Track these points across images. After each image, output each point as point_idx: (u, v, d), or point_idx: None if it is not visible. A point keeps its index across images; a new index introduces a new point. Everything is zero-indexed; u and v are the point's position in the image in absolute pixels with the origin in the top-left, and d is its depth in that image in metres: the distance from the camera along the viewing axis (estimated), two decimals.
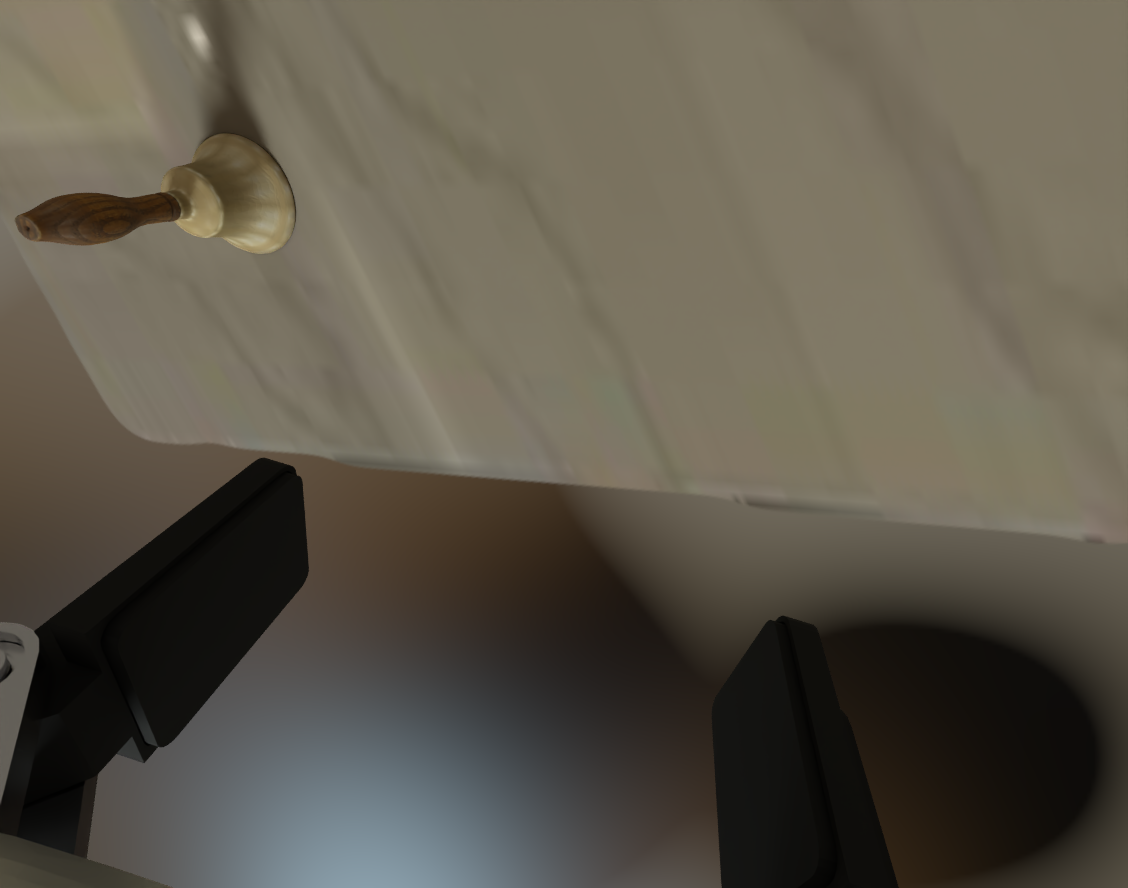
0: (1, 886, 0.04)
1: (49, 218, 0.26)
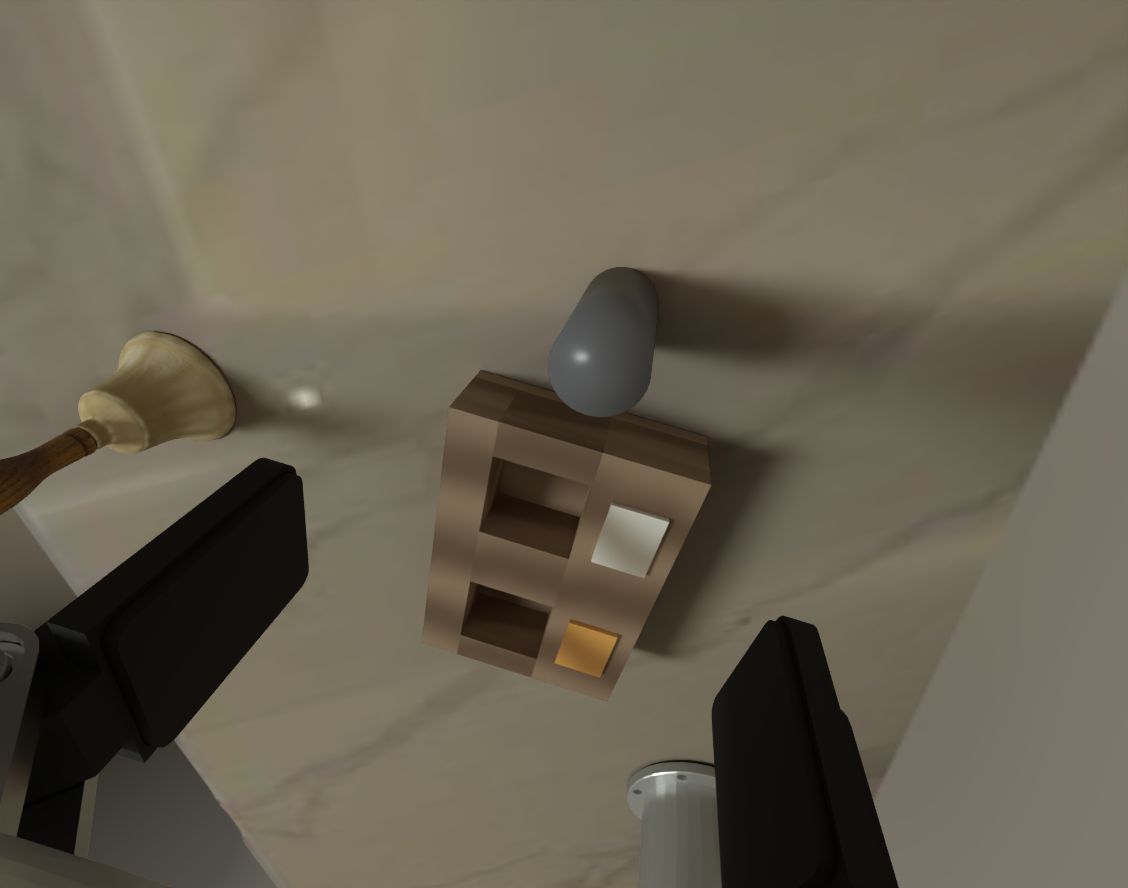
0: (1, 887, 0.04)
1: None
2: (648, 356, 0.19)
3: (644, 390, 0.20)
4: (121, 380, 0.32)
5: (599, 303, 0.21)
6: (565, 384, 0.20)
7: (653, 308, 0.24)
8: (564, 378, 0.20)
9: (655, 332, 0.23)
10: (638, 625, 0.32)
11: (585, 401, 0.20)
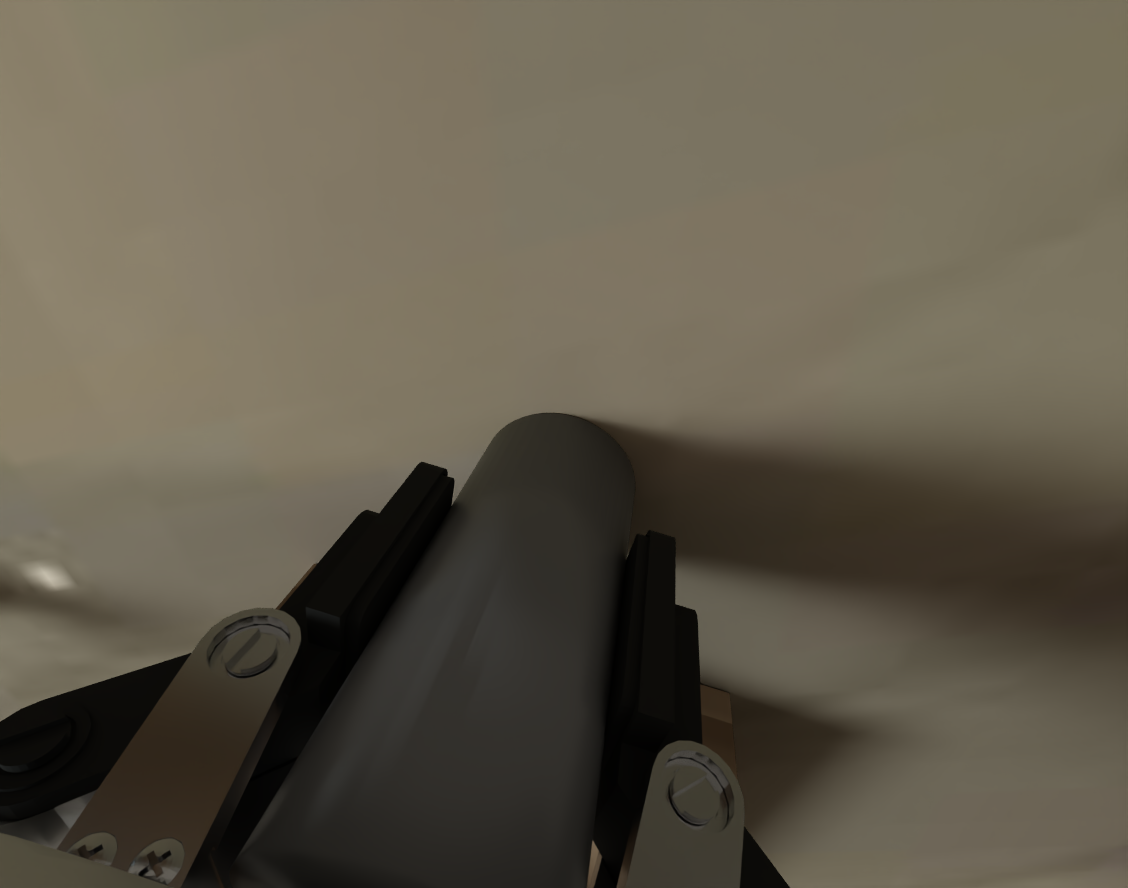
0: (1, 886, 0.04)
1: None
2: None
3: None
4: None
5: (427, 654, 0.07)
6: None
7: (614, 551, 0.10)
8: None
9: (616, 634, 0.09)
10: None
11: None
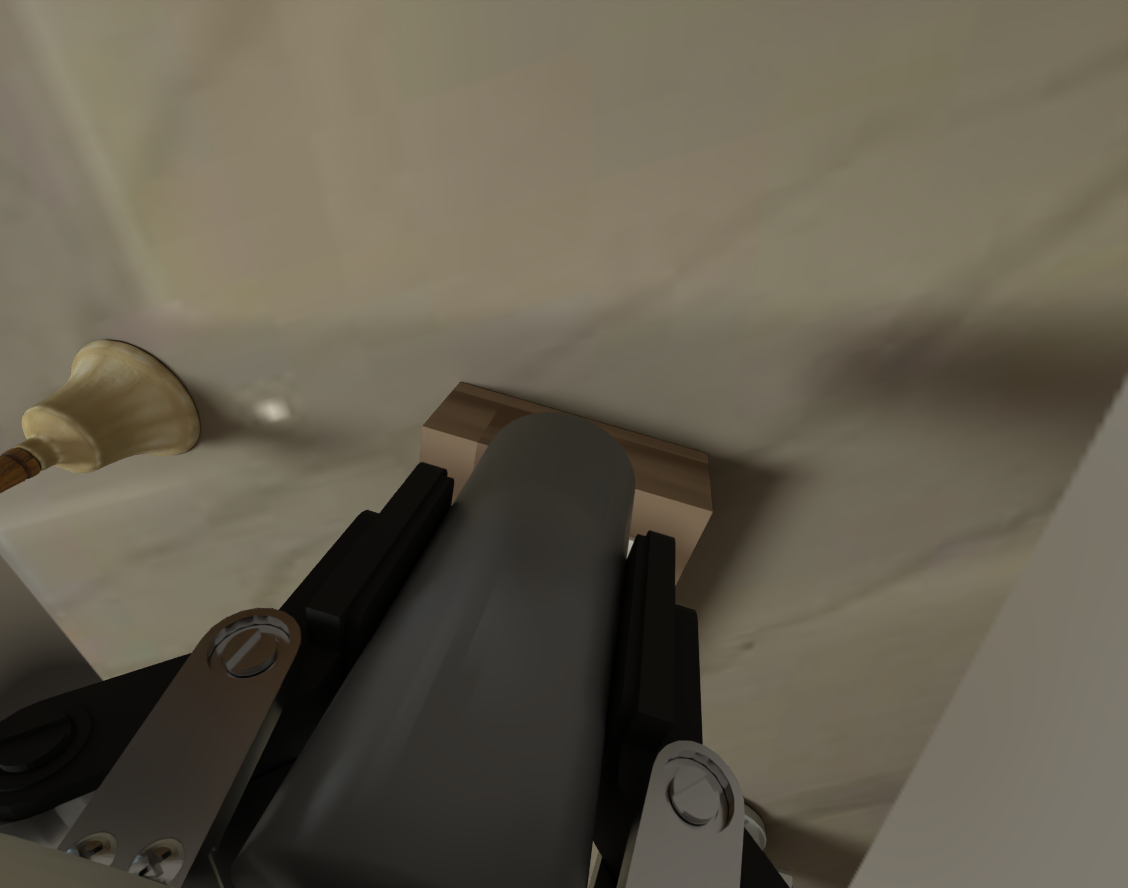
0: (1, 886, 0.04)
1: None
2: None
3: None
4: (69, 394, 0.29)
5: (427, 652, 0.07)
6: None
7: (615, 550, 0.10)
8: None
9: (616, 633, 0.09)
10: None
11: None
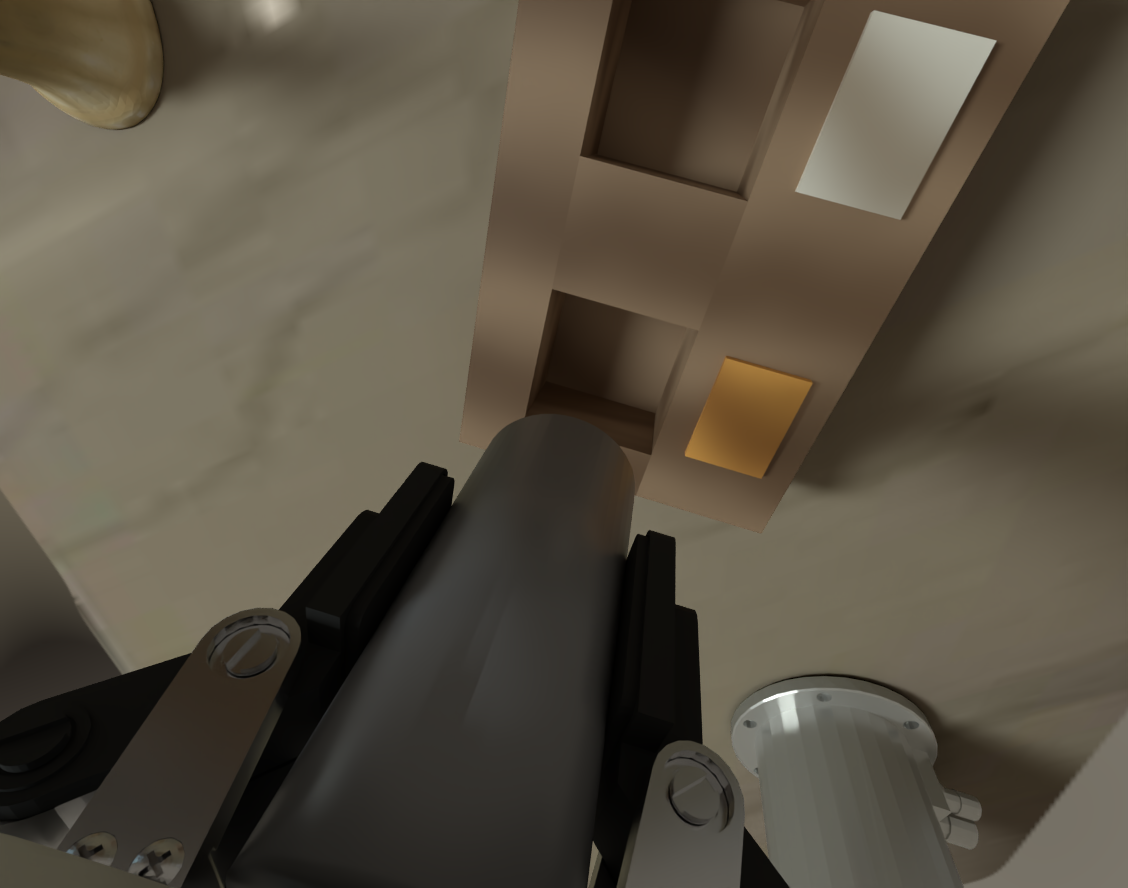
0: (1, 886, 0.04)
1: None
2: None
3: None
4: None
5: (425, 657, 0.07)
6: None
7: (614, 553, 0.10)
8: None
9: (616, 636, 0.09)
10: (855, 353, 0.18)
11: None
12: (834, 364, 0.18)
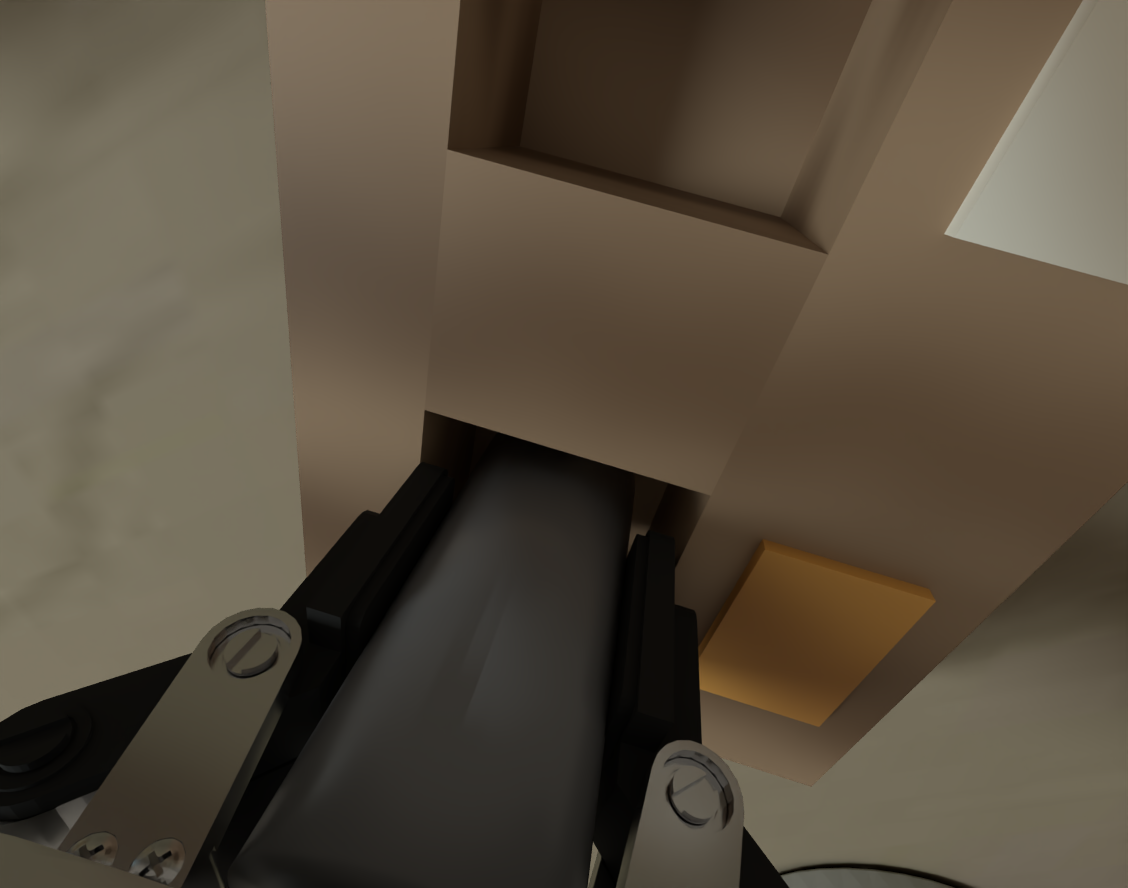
0: (1, 886, 0.04)
1: None
2: None
3: None
4: None
5: (426, 655, 0.07)
6: None
7: (614, 551, 0.10)
8: None
9: (616, 635, 0.09)
10: (1030, 554, 0.09)
11: None
12: (981, 568, 0.09)
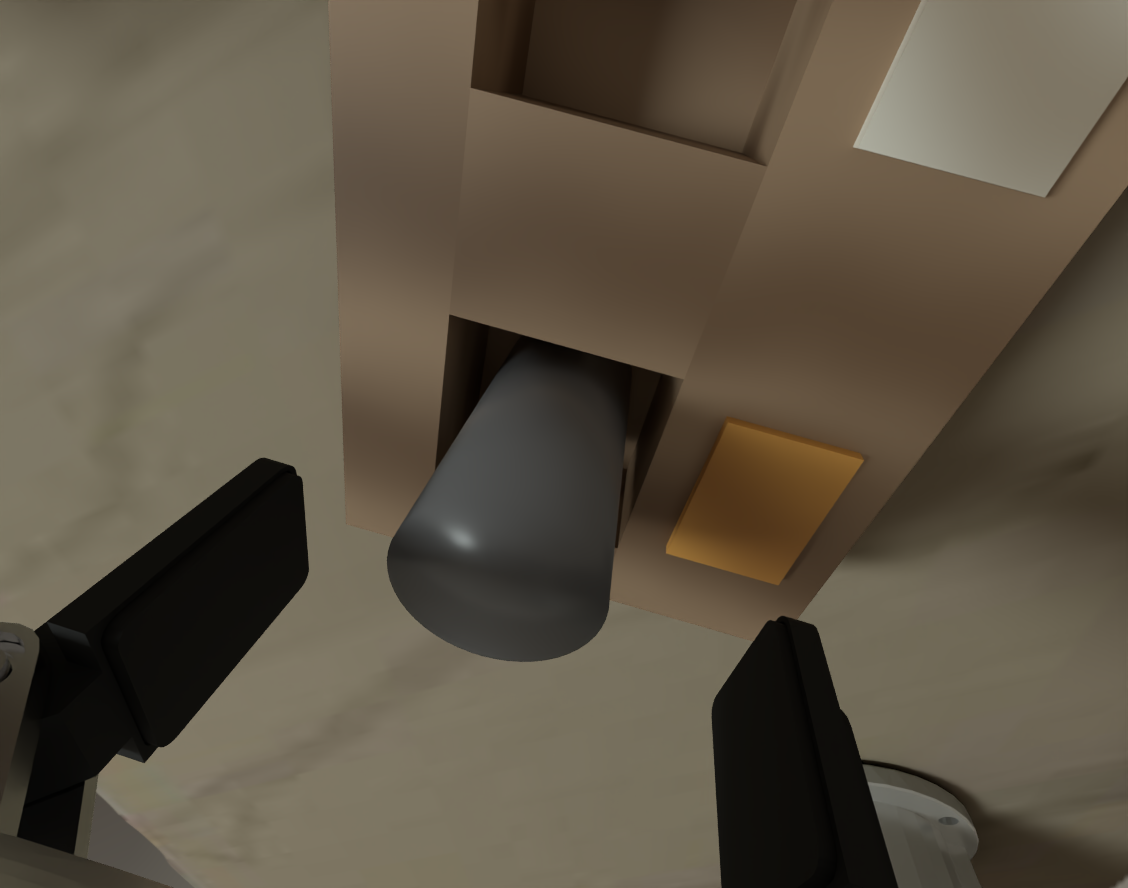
0: (1, 886, 0.04)
1: None
2: (601, 571, 0.08)
3: (597, 626, 0.09)
4: None
5: (501, 429, 0.10)
6: (432, 607, 0.10)
7: (619, 401, 0.13)
8: (428, 598, 0.09)
9: (623, 453, 0.12)
10: (935, 416, 0.11)
11: (477, 636, 0.10)
12: (899, 431, 0.12)
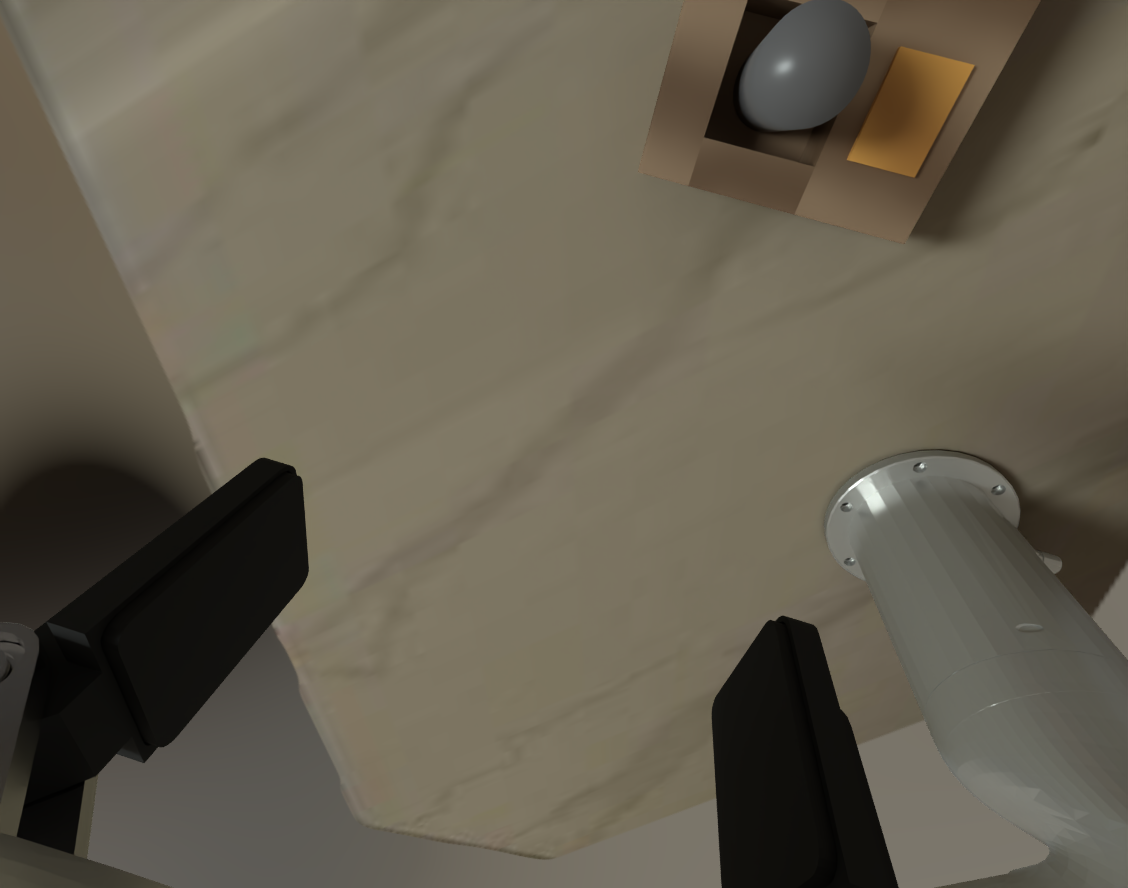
0: (1, 886, 0.04)
1: None
2: (869, 41, 0.19)
3: (857, 87, 0.19)
4: None
5: None
6: (772, 89, 0.20)
7: None
8: (772, 82, 0.20)
9: None
10: (1014, 32, 0.21)
11: (790, 110, 0.20)
12: (994, 46, 0.22)
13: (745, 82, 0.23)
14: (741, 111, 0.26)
